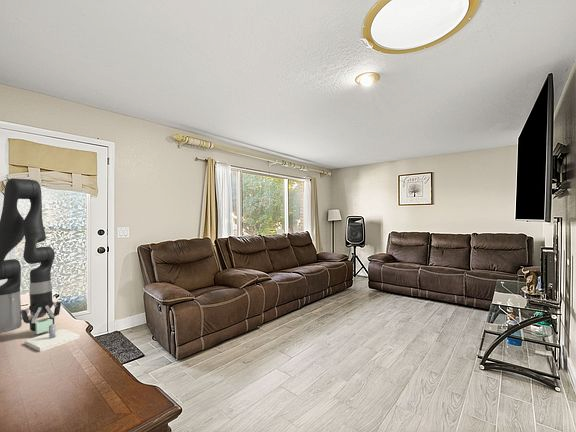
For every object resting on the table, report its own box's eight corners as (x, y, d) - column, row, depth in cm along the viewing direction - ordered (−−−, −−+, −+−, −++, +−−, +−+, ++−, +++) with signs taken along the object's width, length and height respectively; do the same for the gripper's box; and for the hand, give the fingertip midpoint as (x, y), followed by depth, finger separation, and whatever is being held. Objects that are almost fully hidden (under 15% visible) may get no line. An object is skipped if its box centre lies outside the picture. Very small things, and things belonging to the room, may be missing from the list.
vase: (37, 319, 146) (36, 302, 146) (27, 318, 147) (26, 302, 147) (50, 314, 153) (50, 298, 153) (40, 314, 154) (40, 298, 154)
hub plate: (25, 344, 114) (24, 327, 114) (63, 332, 125) (62, 316, 125) (40, 351, 106) (39, 333, 106) (79, 338, 117) (78, 321, 117)
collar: (32, 331, 124) (31, 321, 124) (47, 327, 129) (47, 317, 129) (37, 334, 121) (36, 323, 121) (52, 329, 126) (52, 319, 126)
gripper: (57, 286, 133) (58, 321, 133) (16, 294, 121) (18, 333, 121) (63, 288, 129) (65, 324, 129) (22, 296, 117) (24, 336, 117)
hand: (42, 328), depth 125 cm, fingers closed on collar, 5 cm apart
